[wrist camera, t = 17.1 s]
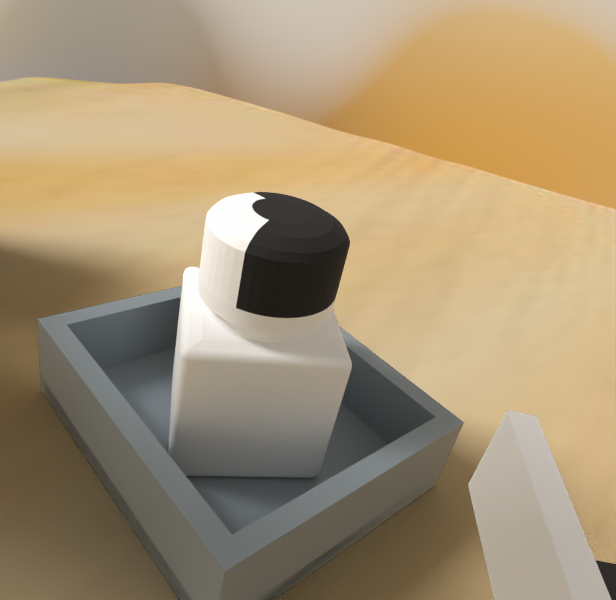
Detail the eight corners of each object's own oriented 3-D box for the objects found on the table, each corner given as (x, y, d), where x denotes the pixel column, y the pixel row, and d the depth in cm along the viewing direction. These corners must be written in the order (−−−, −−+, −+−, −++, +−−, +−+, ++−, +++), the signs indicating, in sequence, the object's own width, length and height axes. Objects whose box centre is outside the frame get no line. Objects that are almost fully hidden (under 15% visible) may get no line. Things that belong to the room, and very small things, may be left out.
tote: (40, 389, 31) (37, 318, 28) (252, 324, 40) (263, 267, 37) (209, 645, 21) (224, 571, 19) (434, 485, 31) (464, 422, 28)
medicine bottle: (298, 383, 34) (347, 189, 28) (319, 481, 28) (387, 262, 22) (172, 376, 32) (194, 168, 26) (165, 479, 26) (193, 240, 20)
